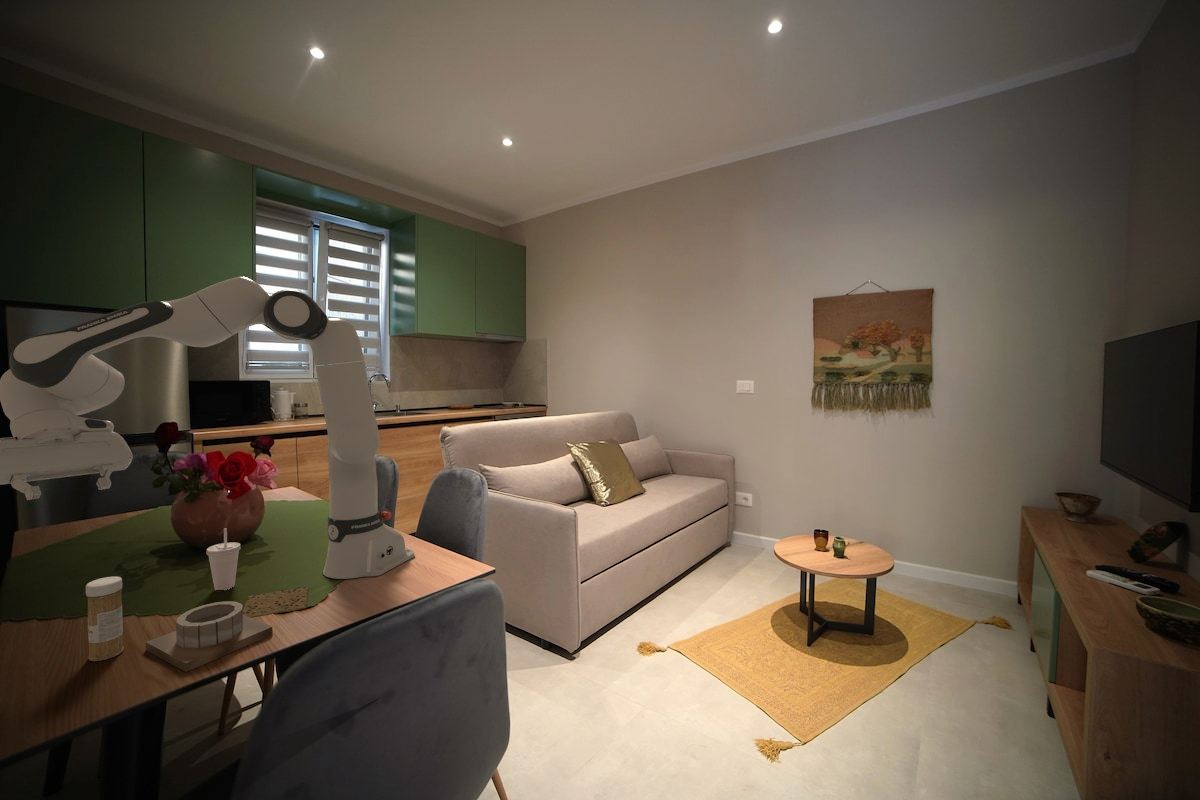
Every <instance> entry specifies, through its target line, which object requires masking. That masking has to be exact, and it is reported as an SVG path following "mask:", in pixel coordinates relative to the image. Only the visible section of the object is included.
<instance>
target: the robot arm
mask: <svg viewBox="0 0 1200 800" xmlns="http://www.w3.org/2000/svg"><path fill="white" fill-rule="evenodd" d="M255 325H263V326H265V327H266V328H268V329H269V330H270V331H272V332H273V333H274V334H276V336H277V335H278V336H279V337H281V338H283V339H286V340H290V341H301V340H304V341H305V342H306V343H307V344H308V345H309V346H310V349H311V350H312V351H311V352H312V354H313V361H314V365H315V367H314V368H315V371H316V377H317V383H318V389H319V395H320V399H321V405H322V410H323V415H324V419H325V426H326V430H327V459H328V481H329V482H328V484H329V486H328V487H329V488H328V489H329V492H328V493H329V515H328V517H327V535H328V545H327V546H328V547H327V553H326V554H327V555H326V559H325V564H324V566H323V567H324V568H323V571H322V574H323V575H324V576H325V577H327V578H330V579H338V580H345V579H346V580H347V579H356V578H363V577H377V576H382V575H383V574H385V573H387V572H388V571H390V570H392V569H395V568H396V567H398V566H399V565H401V564H403V563H405V562H406V561H409V560H410V559H412V558H414V557H415V552H414V551H413V550H412V549H410V548H408V547H406V543H405V539H404V536H403V535H402V533H400V532H399V531H398V530H395V529H394V528H392V527H390V526H388V525H387V524H385V523H384V520H387V521H388V520H390V519H391V518H392V512H391V511H386V510H384V511H380V510H379V509H378V499H379V498H378V479H377V478H378V477H377V466H376V454H377V453H378V452H379V449H380V446H381V445H380V444H381V437H380V432H379V427H378V426H379V425H378V423H377V418H376V413H375V409H374V405H373V401H372V396H371V392H370V388H369V380H368V374H367V368H366V361H365V357H364V350H363V347H362V344H361V340H360V338H359V335H358V332H357V330H356V327H355V326H354V324H353V323H351V322H350V321H348V320H346V319H343V318H338V317H337V318H336V317H331V318H330V317H328V315H327V314H326V313H325V312H324V311H323V310H322V309H321V307H320V306H319V305H318V303H317V302H316V301H315V300H314V299H313V298H312V297H311V296H309V294H307V293H305V292H303V291H301V290H298V289H292V288H289V289H282V290H278V291H276V292H274V293H273V294H272V293H271V294H270V293H268V292H267V291H266V290H265V289H264V288H263V287H262V286H261V285H260V284H259V283H258V282H257V281H255V280H253V279H252V278H249V277H245V276H236V277H233V278H229V279H225V280H223V281H219V282H217V283H214V284H212V285H209V286H207V287H204V288H202V289H200V290H198V291H196V292H194V293H191V294H190V295H187V296H184V297H180V298H176V299H172V300H164V301H162V300H148V301H147V300H146V301H142V302H139V303H135V304H133V305H130V306H126V307H124V308H121V309H117V310H114V311H112V312H109V313H106V314H103V315H100V316H98V317H95V318H91V319H89V320H87V321H86V320H85V321H83V322H80V323H78V324H75V325H72V326H68V327H66V328H62V329H58V330H53V331H48V332H43V333H39V334H35V335H32V336H29V337H27V338H24V339H23V340H22V341H20V342H18V343H17V344H16V345H15V346H14V347H13V349H12V351H11V353H10V357H9V369H8V370H7V371H5V372H4V373H3V374H2V376H1V377H0V404H1V407H2V410H3V413H4V416H6V417H7V418H8V419H9V420H10V423H9V429H10V431H11V435H12V436H11V437H0V486H1V485H2V486H3V485H8V484H9V485H11V488H13V489H14V490H16V491H18V492H20V493H21V494H24V496H25V498H26V500H27V501H31V500H37V499H40V498H41V496H42V491H41V490H40V489H41V488H40V486H39V485H35V486H34V485H31V484H29V482H34V481H35V482H36V481H42V480H43V481H44V480H51V479H60V478H66V477H76V476H77V477H78V476H83V475H93V474H100V476H101V477H99V478H98V479H97V481H96V486H97V487H98V488H97V489H98V490H101V491H102V490H108V489H110V488H111V486H112V481H111V478H110V476H111V474H112V473H113V472H118V471H125V470H126V469H128V467H129V466H130V465H131V463H132V461H133V458H134V456H133V453H132V451H131V449H130V446H129V445H128V443H127V441H126V440H125V439H124V437H123V436H121V435H120V434H119V433H118V432H116V431H115V432H114V428H115V425H114V423H113V422H112V421H109V420H105V419H103V420H102V419H95V418H88V417H85V416H83V415H86V414H90V413H93V412H95V411H98V410H101V409H104V408H106V407H108V406H110V405H112V404H114V403H116V402H117V401H118V400H119V399H120V398H121V397H122V395H123V394H124V392H125V388H126V377H125V376H124V374H123V373H122V372H120V371H119V370H117V369H116V368H114V367H113V366H112V365H110V364H108V363H107V362H105V361H104V360H103V359H102V360H101V359H99V358H98V357H97V356H95V355H94V354H96V353H97V354H98V353H100V352H102V351H104V350H107V349H109V348H113V347H114V346H117V345H120V344H123V343H125V342H128V341H130V340H131V341H132V340H134V339H137V338H142V337H143V338H144V337H151V338H152V337H153V338H160V339H164V340H165V339H166V340H169V341H171V342H175V343H178V344H180V345H184V346H188V347H194V348H208V347H211V346H215V345H217V344H220V343H222V342H224V341H226V340H227V339H229V338H231V337H232V336H234V335H236V334H238V333H240V332H242V331H243V330H246V329H247V328H249V327H251V326H255ZM82 416H83V417H82ZM383 519H384V520H383Z"/></svg>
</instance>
